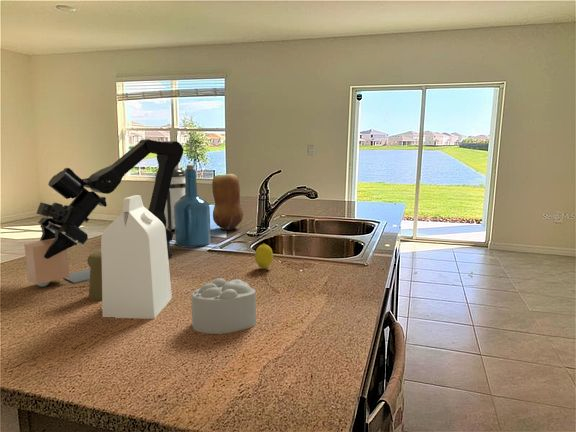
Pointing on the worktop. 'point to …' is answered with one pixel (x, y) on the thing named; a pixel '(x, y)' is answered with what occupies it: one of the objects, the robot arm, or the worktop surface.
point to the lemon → (263, 256)
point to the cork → (95, 276)
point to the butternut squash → (227, 201)
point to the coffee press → (174, 196)
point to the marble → (43, 284)
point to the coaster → (79, 276)
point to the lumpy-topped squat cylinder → (223, 307)
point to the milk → (135, 264)
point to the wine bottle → (191, 215)
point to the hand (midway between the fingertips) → (40, 255)
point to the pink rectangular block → (45, 262)
